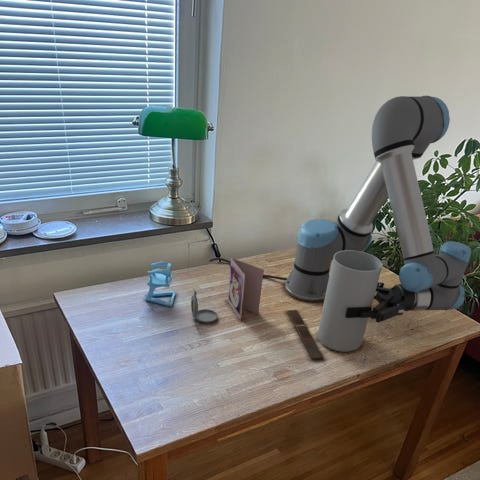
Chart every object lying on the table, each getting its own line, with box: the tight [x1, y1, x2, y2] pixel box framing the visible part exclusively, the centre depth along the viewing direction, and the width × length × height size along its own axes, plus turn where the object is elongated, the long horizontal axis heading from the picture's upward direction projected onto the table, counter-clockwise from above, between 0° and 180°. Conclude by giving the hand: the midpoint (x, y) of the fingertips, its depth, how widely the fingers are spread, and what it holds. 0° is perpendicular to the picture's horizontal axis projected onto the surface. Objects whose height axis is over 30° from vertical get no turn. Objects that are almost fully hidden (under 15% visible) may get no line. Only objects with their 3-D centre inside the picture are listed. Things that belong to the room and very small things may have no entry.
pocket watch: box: [190, 287, 218, 324], centre depth 136 cm, size 8×8×10 cm
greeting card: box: [227, 257, 265, 321], centre depth 140 cm, size 11×7×15 cm, turn 21°
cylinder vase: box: [317, 250, 384, 353], centre depth 128 cm, size 12×12×25 cm
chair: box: [145, 261, 176, 307], centre depth 142 cm, size 8×8×12 cm
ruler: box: [286, 309, 324, 361], centre depth 135 cm, size 24×3×1 cm, turn 11°
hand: (337, 299), depth 126 cm, fingers open, 13 cm apart
